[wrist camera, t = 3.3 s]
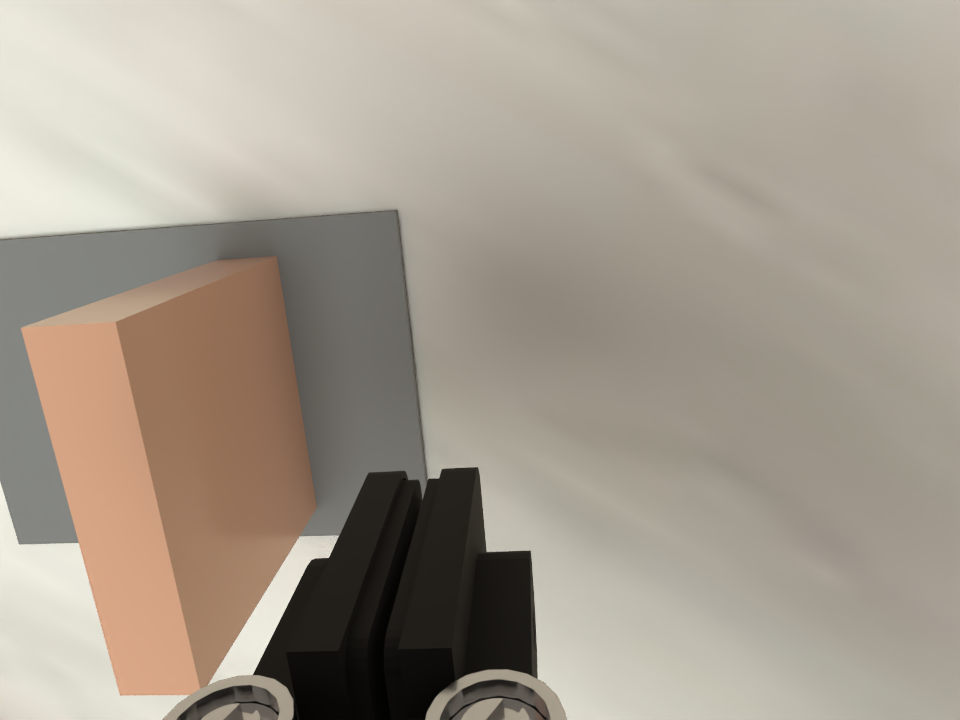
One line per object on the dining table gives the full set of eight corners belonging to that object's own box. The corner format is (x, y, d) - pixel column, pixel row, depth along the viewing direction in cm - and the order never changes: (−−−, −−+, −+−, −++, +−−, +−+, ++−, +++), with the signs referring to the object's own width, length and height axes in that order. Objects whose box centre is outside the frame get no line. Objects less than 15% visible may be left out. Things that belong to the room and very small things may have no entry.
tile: (317, 507, 22) (201, 695, 15) (260, 509, 22) (117, 695, 15) (276, 255, 20) (115, 322, 12) (214, 260, 20) (18, 328, 13)
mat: (432, 527, 23) (430, 532, 22) (25, 539, 24) (19, 544, 24) (397, 210, 20) (394, 211, 19) (-62, 244, 21) (-70, 246, 21)
